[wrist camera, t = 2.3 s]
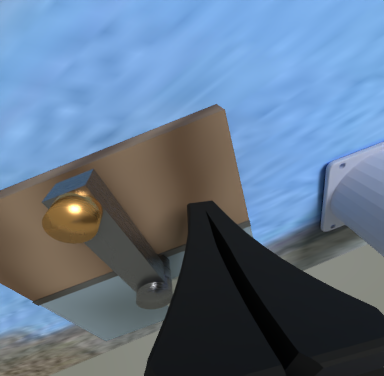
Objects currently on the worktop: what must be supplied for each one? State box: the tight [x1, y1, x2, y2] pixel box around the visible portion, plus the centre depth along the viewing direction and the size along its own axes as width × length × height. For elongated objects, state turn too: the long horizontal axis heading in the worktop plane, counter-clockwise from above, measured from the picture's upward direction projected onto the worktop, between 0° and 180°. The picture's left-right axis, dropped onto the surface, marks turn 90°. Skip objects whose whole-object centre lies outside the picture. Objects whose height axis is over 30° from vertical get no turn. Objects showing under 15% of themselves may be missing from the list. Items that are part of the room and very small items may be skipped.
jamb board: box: [0, 104, 251, 306], centre depth 13 cm, size 18×9×2 cm, turn 109°
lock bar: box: [41, 169, 173, 309], centre depth 11 cm, size 10×2×3 cm, turn 19°
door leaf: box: [41, 226, 253, 341], centre depth 18 cm, size 18×10×2 cm, turn 109°
